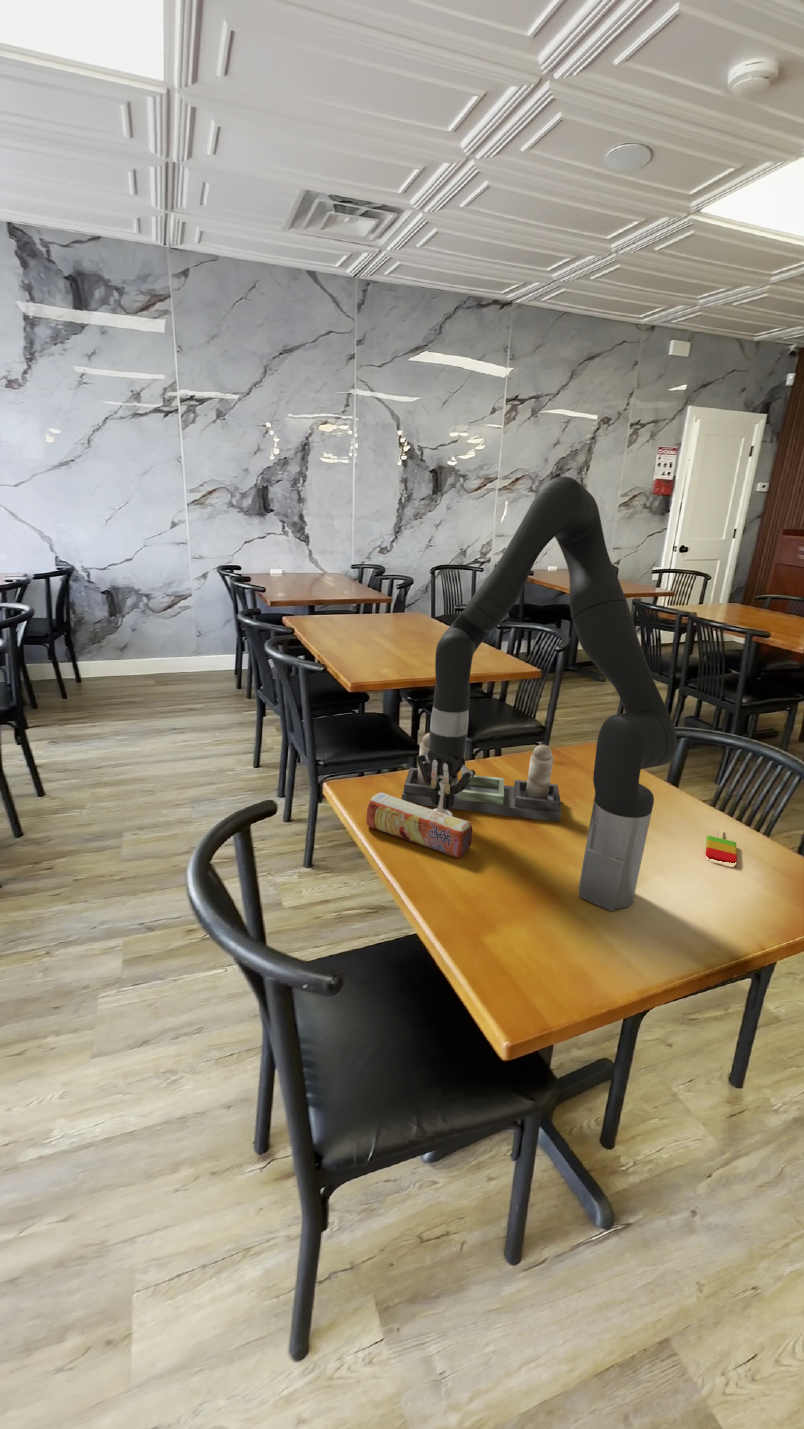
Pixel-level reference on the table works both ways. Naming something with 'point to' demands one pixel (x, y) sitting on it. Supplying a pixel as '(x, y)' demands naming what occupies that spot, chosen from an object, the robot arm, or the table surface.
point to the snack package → (419, 824)
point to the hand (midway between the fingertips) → (441, 805)
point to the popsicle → (721, 849)
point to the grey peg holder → (497, 790)
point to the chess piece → (442, 798)
